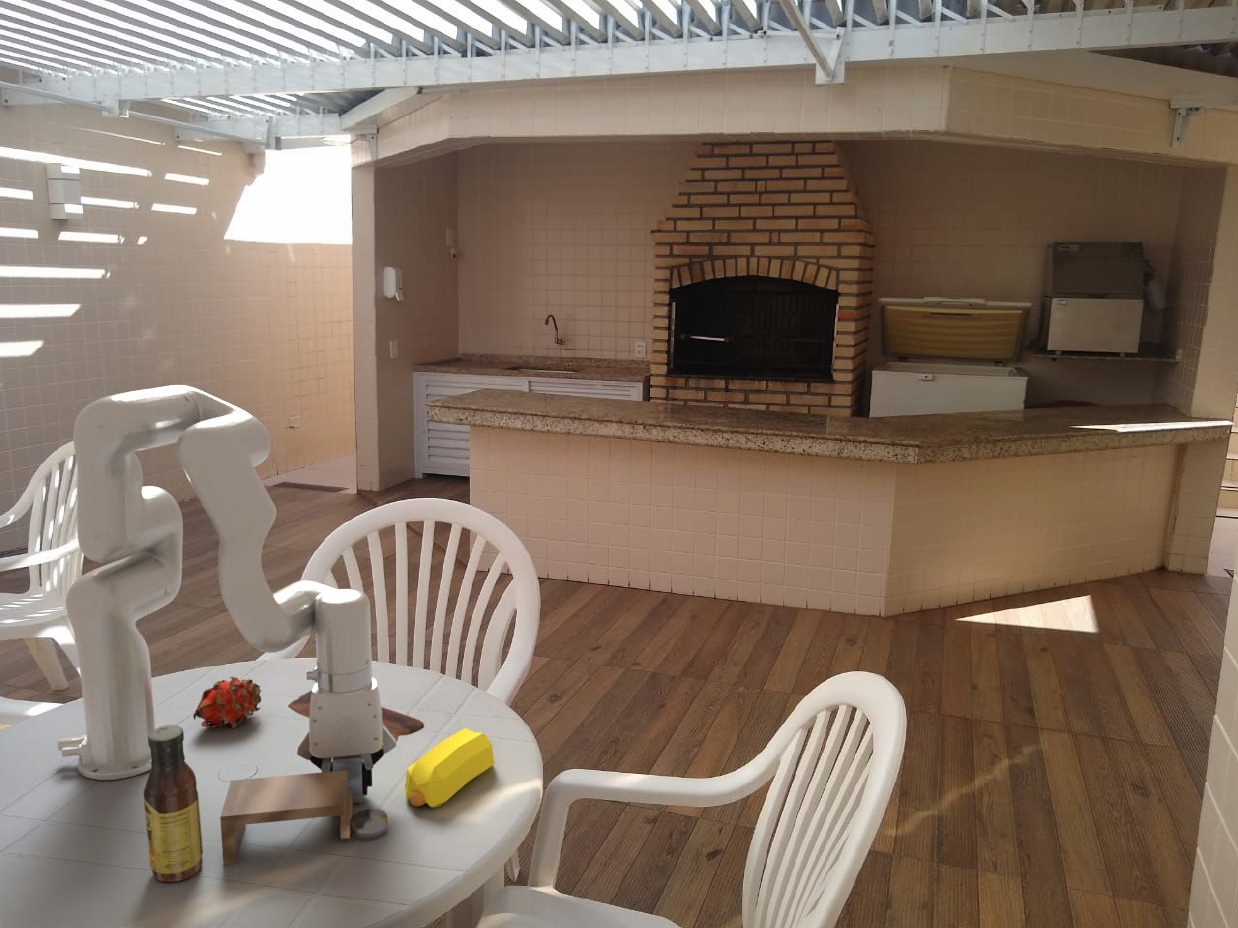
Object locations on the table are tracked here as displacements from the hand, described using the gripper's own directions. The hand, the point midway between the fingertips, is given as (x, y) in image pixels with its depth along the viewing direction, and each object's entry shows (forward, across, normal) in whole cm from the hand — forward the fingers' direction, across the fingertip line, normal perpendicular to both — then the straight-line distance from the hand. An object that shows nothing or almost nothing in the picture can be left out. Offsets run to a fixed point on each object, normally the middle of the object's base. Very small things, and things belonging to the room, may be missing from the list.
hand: (348, 790), depth 142 cm
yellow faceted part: (+2, +15, +2) cm, 15 cm away
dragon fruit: (+2, -21, +28) cm, 35 cm away
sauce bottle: (+2, -21, -13) cm, 25 cm away
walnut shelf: (+1, -7, -8) cm, 11 cm away
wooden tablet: (+2, -1, +28) cm, 28 cm away
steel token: (+2, +3, -8) cm, 9 cm away
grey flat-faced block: (+1, 0, -4) cm, 5 cm away
